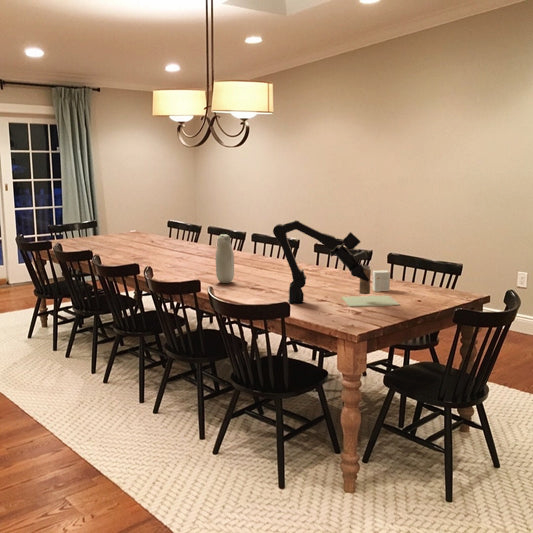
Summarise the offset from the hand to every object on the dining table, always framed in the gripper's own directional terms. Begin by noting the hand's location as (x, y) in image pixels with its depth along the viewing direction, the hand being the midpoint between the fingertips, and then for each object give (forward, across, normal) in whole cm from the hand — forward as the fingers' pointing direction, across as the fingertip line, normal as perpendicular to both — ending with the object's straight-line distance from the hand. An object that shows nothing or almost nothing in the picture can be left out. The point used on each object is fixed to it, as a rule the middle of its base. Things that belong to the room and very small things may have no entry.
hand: (367, 279), depth 263 cm
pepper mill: (+4, 0, +6) cm, 7 cm away
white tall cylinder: (-45, +45, +62) cm, 89 cm away
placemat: (+9, +2, +7) cm, 12 cm away
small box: (+15, +27, +1) cm, 31 cm away
